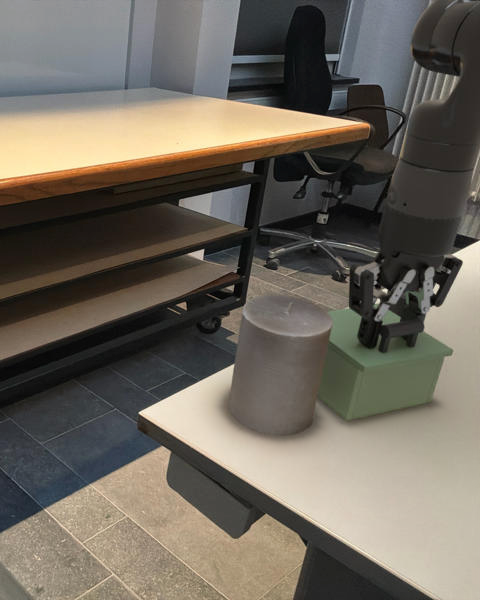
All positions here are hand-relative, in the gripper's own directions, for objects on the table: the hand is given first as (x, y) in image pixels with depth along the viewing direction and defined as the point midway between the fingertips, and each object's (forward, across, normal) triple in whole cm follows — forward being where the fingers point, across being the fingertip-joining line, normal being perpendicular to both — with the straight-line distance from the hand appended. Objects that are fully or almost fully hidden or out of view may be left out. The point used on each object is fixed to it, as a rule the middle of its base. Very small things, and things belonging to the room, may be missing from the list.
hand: (386, 340), depth 79 cm
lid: (+1, 0, +2) cm, 2 cm away
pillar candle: (+9, -14, +1) cm, 16 cm away
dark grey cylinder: (+9, +13, +10) cm, 19 cm away
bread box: (+9, 0, +2) cm, 9 cm away
